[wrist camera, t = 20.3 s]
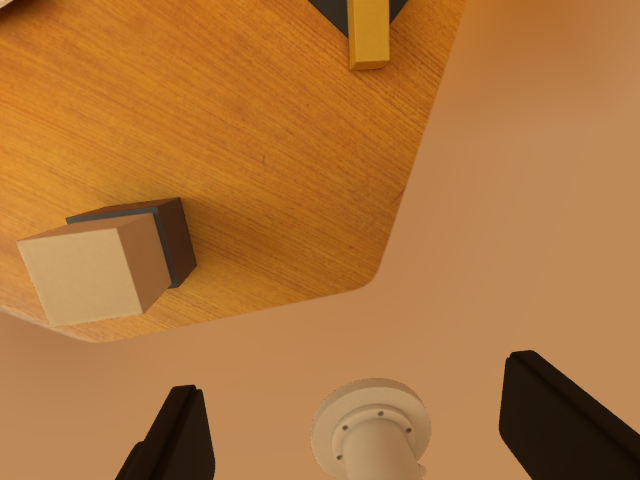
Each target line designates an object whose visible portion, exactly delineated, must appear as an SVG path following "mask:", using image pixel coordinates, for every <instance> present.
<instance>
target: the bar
mask: <svg viewBox="0 0 640 480" xmlns="http://www.w3.org/2000/svg"><path fill="white" fill-rule="evenodd" d="M347 11H348V34H349V57H350V70H366V69H381V68H382V67H383V66H384V65H385V64H386V63H387V62H388V61H389V60H390V43H389V0H347Z"/></svg>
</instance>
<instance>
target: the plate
mask: <svg viewBox="0 0 640 480" xmlns="http://www.w3.org/2000/svg"><path fill="white" fill-rule="evenodd" d="M14 1H15V0H0V10H1V9H3V8H5V7H6V6H8V5H9V4H11V3H12V2H14Z"/></svg>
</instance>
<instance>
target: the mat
mask: <svg viewBox="0 0 640 480" xmlns="http://www.w3.org/2000/svg"><path fill="white" fill-rule="evenodd" d="M308 1H309V2H311V3H312V4H313V5H314V6H315V7H316V8H317V9H318V10H319V11H320V12H321V13H322V14H323V15H324V16H325V17H326V18H327V19H328V20H329V21H331V22H332V23H333V24H334V25H335V26H336V27H337V28H338V29H339V30H340V31H341V32H342V33H343V34H344V35H345V36H346V37H347V38H348V39H349V34H348V11H347V0H308ZM406 2H407V0H389V25H390V24H391V22H392V21H393V19H394V18H395V17H396V15H397V14H398V13H399V11H400V10H401V9H402V7H403V6H404V5H405V3H406Z"/></svg>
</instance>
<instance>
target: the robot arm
mask: <svg viewBox="0 0 640 480" xmlns="http://www.w3.org/2000/svg"><path fill="white" fill-rule="evenodd" d="M499 432H500V435H501V437H502V439H503V441H504V442H505V444H506V445H507V446H508V448H509V449H510V450H511V452H512V453H513V454H514V456H515V457H516V458H517V460H518V461H519V462H520V464H521V465H522V466H523V468H524V469H525V470H526V472H527V473H528V475H529V476H530V477H531V479H532V480H640V435H639V434H638V433H637V432H636V431H634V430H633V429H632V428H631V427H629V426H628V425H627V424H625V423H624V422H623V421H622V420H621V419H619V418H618V417H617V416H615V415H614V414H613V413H612V412H610V411H609V410H608V409H607V408H605V407H604V406H603V405H601V404H600V403H599V402H598V401H597V400H595V399H594V398H593V397H592V396H590V395H589V394H588V393H587V392H585V391H584V390H583V389H581V388H580V387H579V386H578V385H577V384H575V383H574V382H573V381H572V380H570V379H569V378H567V377H566V376H565V375H564V374H563V373H561V372H560V371H559V370H557V369H556V368H555V367H554V366H553V365H551V364H550V363H549V362H547V361H546V360H545V359H544V358H542V357H541V356H540V355H539V354H538V353H536V352H534V351H532V350H527V351H517V352H512V353H511V354H510V357H509V358H507V359H506V363H505V372H504V381H503V391H502V401H501V409H500V419H499ZM414 443H415V432H414V428H413V426H412V424H411V422H410V420H409V418H408V417H407V416H406V415H405V414H404V413H403V412H402V411H400V410H399V409H397V408H394V407H392V406H388V405H383V404H373V405H366V406H363V407H360V408H357V409H355V410H353V411H351V412H350V413H348V414H347V415H345V416H344V417H343V418H342V419H341V420H340V421H339V422H338V424H337V425H336V427H335V428H334V431H333V433H332V437H331V448H332V454H333V457H334V459H335V461H336V462H337V463H338V465H339V466H341V467H342V468H343V469H344V470H346V474H347V480H422V477H424V476H425V475H426V469H425V467H424V466H422V465H420V464H418V463H417V462H416V459H415V457H414V454H413V452H412V449H413V447H414ZM214 473H215V458H214V452H213V447H212V441H211V436H210V430H209V425H208V419H207V414H206V408H205V403H204V397H203V392H202V390H201V389H198V390H197V389H196V386H195V385H185V386H175V387H173V388H172V389H171V391H170V393H169V395H168V397H167V399H166V400H165V402H164V404H163V406H162V408H161V410H160V411H159V413H158V415H157V417H156V419H155V421H154V423H153V424H152V426H151V428H150V430H149V432H148V434H147V436H146V438H145V439H144V441H142V442H138V443H137V444H136V445H135V446H134V448H133V449H132V451H131V452H130V454H129V456H128V457H127V459H126V461H125V463H124V465H123V466H122V468H121V470H120V472H119V474H118V475H117V477H116V479H115V480H213V478H214Z"/></svg>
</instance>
